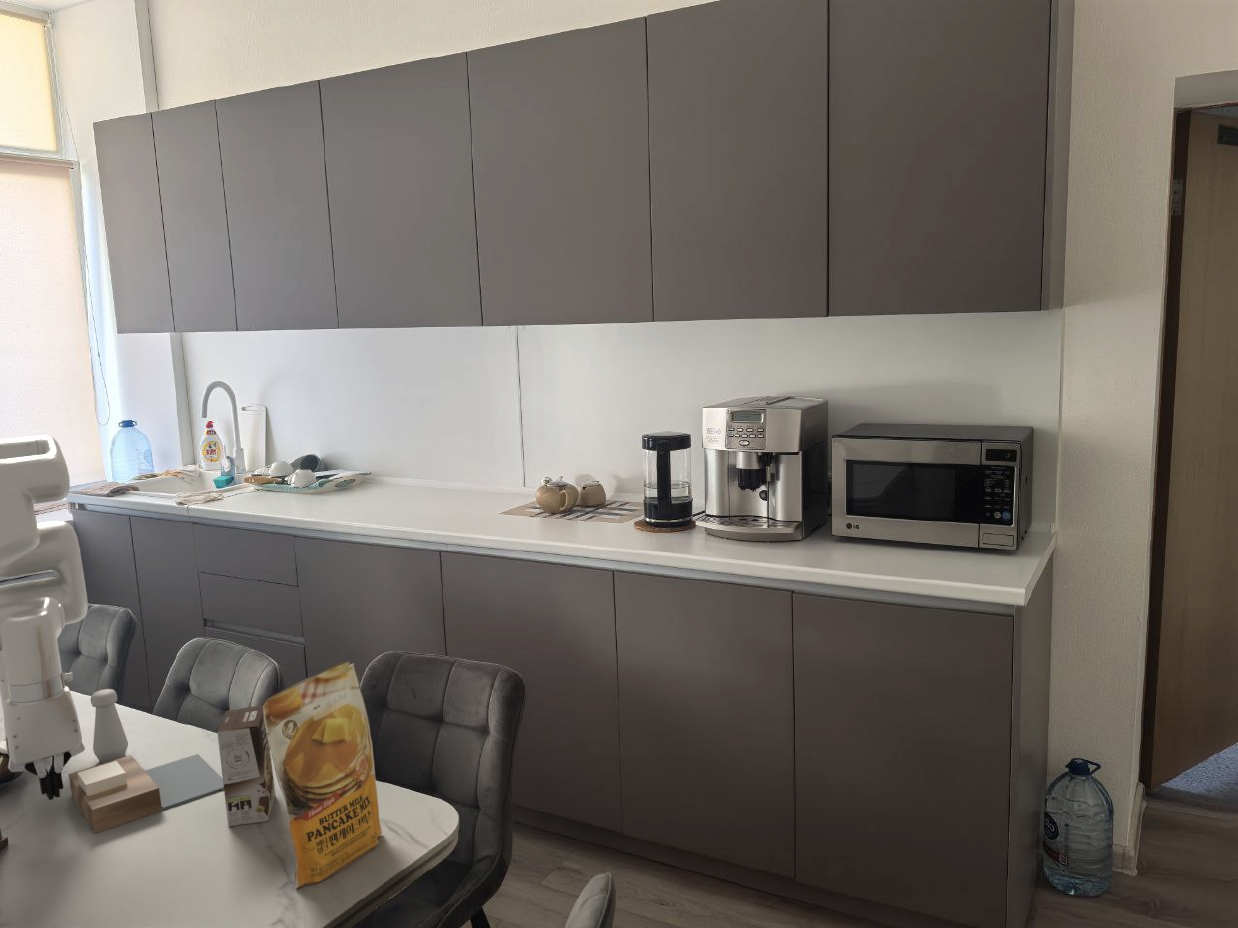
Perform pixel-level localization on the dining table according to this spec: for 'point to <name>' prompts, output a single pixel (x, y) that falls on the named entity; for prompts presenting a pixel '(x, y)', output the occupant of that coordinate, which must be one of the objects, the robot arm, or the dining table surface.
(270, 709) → the pancake mix bag
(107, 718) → the salt shaker
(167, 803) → the mat
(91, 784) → the cream square block
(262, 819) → the coffee box
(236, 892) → the dining table surface
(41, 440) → the robot arm
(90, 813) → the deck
